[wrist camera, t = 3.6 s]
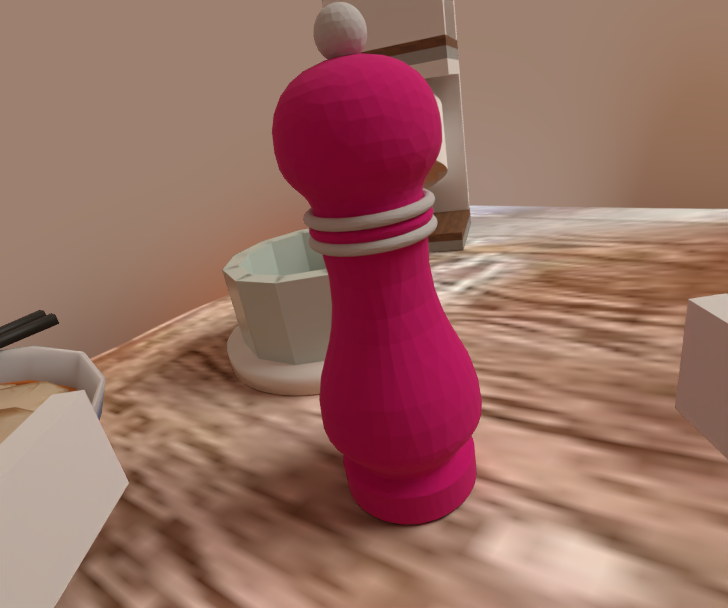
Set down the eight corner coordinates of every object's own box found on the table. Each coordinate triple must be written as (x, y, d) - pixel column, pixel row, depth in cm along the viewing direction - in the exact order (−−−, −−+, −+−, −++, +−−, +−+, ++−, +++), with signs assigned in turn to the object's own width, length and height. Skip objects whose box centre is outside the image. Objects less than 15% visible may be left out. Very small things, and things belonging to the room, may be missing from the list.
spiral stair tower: (365, 256, 56) (302, -115, 42) (386, 230, 65) (339, -82, 51) (463, 249, 52) (429, -159, 38) (470, 223, 61) (445, -114, 47)
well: (418, 285, 45) (408, 208, 42) (445, 376, 30) (433, 267, 27) (255, 310, 46) (234, 236, 43) (205, 410, 31) (168, 308, 28)
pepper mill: (310, 481, 24) (186, 33, 16) (408, 409, 28) (348, 23, 20) (416, 569, 18) (310, -37, 11) (517, 464, 23) (496, -31, 15)
